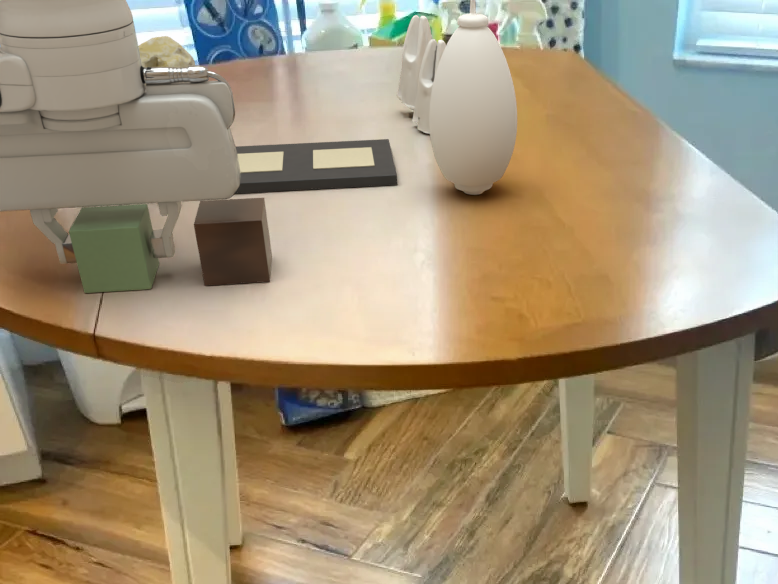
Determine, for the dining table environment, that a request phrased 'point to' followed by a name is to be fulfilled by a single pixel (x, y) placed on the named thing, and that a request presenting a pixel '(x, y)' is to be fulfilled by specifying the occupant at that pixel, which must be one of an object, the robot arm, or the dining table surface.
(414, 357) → the dining table surface
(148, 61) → the beige rock
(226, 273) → the walnut block
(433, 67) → the shaker set
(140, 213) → the green block
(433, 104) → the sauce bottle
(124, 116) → the robot arm
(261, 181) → the word board
